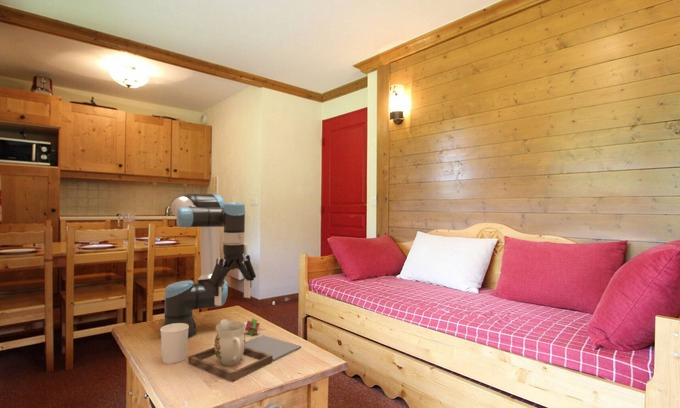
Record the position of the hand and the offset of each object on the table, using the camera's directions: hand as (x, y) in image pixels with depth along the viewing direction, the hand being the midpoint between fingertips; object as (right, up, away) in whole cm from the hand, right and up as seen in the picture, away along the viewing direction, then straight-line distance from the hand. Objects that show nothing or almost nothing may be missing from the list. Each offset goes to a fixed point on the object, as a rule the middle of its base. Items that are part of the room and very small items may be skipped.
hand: (233, 301), depth 133 cm
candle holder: (-23, -23, +2) cm, 32 cm away
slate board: (+10, -23, +14) cm, 29 cm away
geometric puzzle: (0, -23, +30) cm, 38 cm away
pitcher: (-1, -23, -1) cm, 23 cm away
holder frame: (-1, -23, -1) cm, 23 cm away
